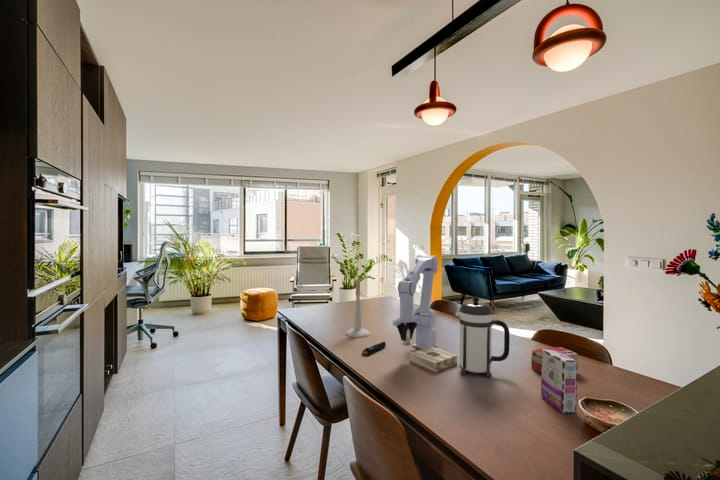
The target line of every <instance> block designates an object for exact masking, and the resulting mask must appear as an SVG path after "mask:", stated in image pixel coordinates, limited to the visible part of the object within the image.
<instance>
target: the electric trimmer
mask: <svg viewBox="0 0 720 480" xmlns="http://www.w3.org/2000/svg"><path fill="white" fill-rule="evenodd" d="M386 346H387V345H386V341H382V342H379V343H375V344H374V345H372V346H368V347H366V348H364V350H362V352H361V355H362V356H365V357H369V356H370V355H371V354H374V353H375V352H379V351H381V350H383V349H384V348H385V347H386Z"/></svg>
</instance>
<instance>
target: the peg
mask: <svg viewBox="0 0 720 480" xmlns="http://www.w3.org/2000/svg"><path fill="white" fill-rule="evenodd" d="M402 345H403V346H405V347H407V346H410V345H411V339H410V328H407V332H406V341H403V340H402Z"/></svg>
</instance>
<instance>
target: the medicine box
mask: <svg viewBox="0 0 720 480" xmlns="http://www.w3.org/2000/svg"><path fill="white" fill-rule="evenodd" d="M543 349H544V348H539V349H532V351H531V358H530V359H531V362H530V363H531V365H530V366H531V370H533V371H535V370H536V371H535V372H537V371H538V373H540V374H541V373H542V350H543ZM545 349H555V350H557V351H559V352H561V353H563V354H565V355H567V356H569V357H571V358H573V359H575V360H577V361H578V353H576V352H574V351H573V350H572V351H571V350H569V349H567V348H564V347H562V346H559V347H548V348H547V347H546V348H545Z"/></svg>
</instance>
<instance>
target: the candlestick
mask: <svg viewBox="0 0 720 480" xmlns="http://www.w3.org/2000/svg"><path fill="white" fill-rule="evenodd" d="M355 284H356V287H355V290H356V291H354V293H355V296H356V298H355V301H356V302H355V314H354V315H355V316H354V328H350V329H348V330H347V331H346V332H345V335H346V336H347V337H350V338H354V339H355V338H357V339H358V338H359V339H361V338H367V337H369V336H370V334H371V333H370V331H369V330H368V329H365V328H362V320H361V319H362V313H361V293H362V291H361V280H360V279H359V278H358V279H356V281H355Z"/></svg>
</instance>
